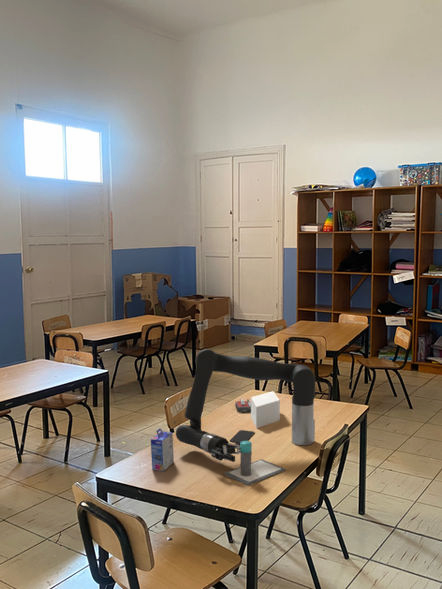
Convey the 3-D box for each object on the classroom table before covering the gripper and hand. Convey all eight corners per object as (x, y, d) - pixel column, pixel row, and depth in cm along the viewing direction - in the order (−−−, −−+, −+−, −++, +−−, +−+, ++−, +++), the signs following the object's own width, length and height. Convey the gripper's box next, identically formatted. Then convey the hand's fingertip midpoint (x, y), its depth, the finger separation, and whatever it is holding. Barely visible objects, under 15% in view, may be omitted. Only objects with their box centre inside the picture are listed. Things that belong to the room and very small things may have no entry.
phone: (228, 441, 251) (240, 429, 265) (228, 442, 251) (240, 431, 265) (244, 443, 249) (255, 431, 263) (244, 445, 249) (255, 433, 263)
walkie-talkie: (254, 413, 292) (249, 402, 312) (254, 405, 292) (249, 394, 311) (237, 414, 291) (233, 402, 311) (237, 405, 291) (233, 394, 311)
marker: (245, 470, 218) (245, 440, 217) (253, 474, 215) (253, 442, 214) (237, 473, 216) (237, 442, 214) (245, 477, 213) (245, 445, 211)
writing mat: (261, 460, 230) (261, 458, 230) (285, 470, 221) (285, 468, 220) (224, 474, 217) (224, 472, 217) (248, 485, 207) (248, 483, 207)
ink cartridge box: (161, 460, 231) (160, 425, 230) (174, 461, 230) (173, 426, 228) (150, 469, 222) (149, 433, 221) (163, 471, 220) (163, 434, 219)
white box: (287, 412, 293) (287, 392, 292) (271, 430, 266) (271, 408, 265) (259, 409, 298) (259, 389, 297) (241, 426, 272) (241, 405, 270)
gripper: (200, 439, 223) (228, 451, 211) (227, 431, 232) (256, 441, 220) (200, 458, 223) (228, 471, 211) (227, 449, 233) (256, 460, 221)
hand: (242, 456), depth 216 cm, fingers open, 8 cm apart
